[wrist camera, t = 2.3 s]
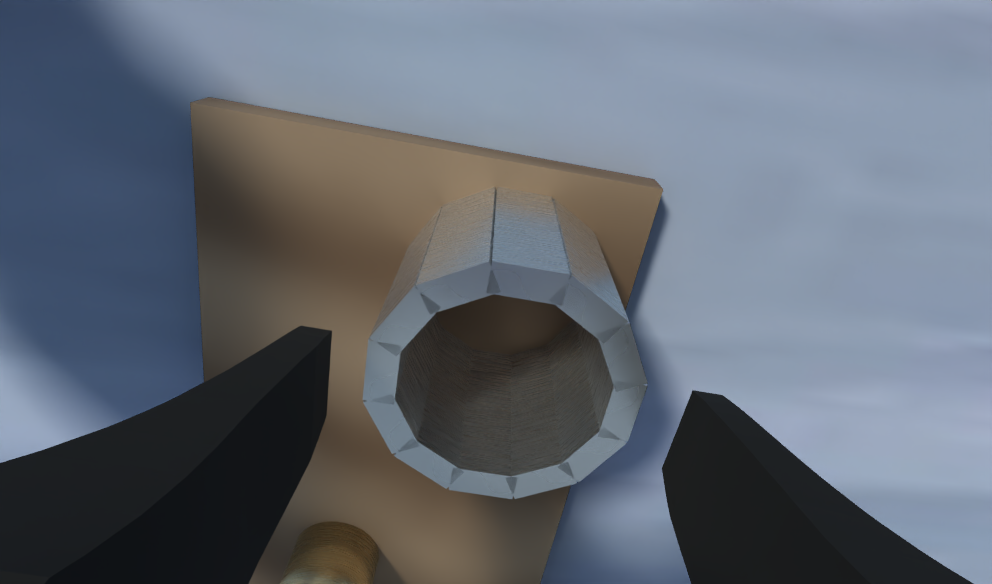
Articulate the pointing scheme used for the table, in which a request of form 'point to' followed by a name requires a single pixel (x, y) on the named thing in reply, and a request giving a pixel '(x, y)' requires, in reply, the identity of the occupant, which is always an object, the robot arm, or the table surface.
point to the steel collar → (500, 377)
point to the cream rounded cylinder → (332, 556)
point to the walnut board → (358, 302)
